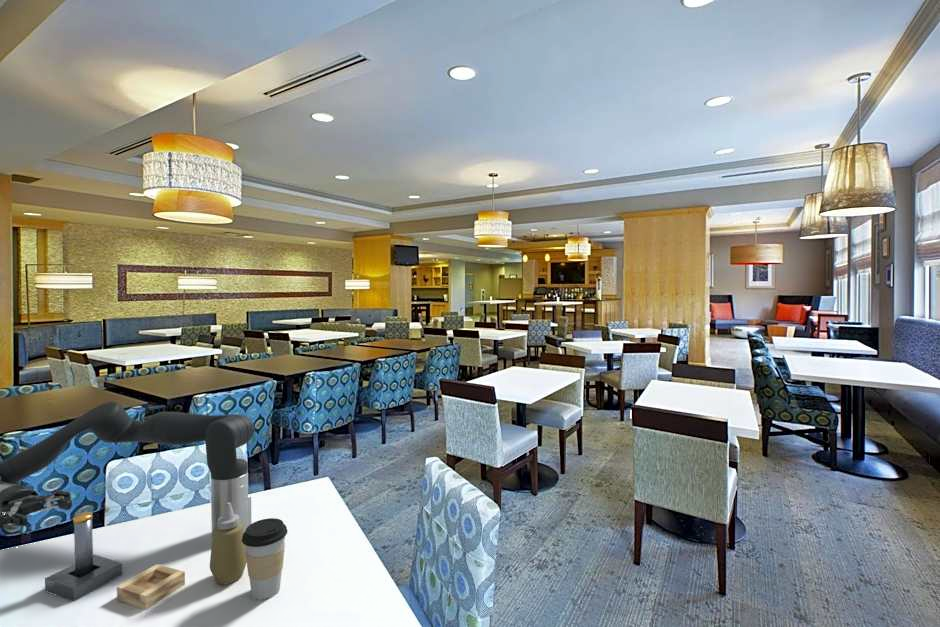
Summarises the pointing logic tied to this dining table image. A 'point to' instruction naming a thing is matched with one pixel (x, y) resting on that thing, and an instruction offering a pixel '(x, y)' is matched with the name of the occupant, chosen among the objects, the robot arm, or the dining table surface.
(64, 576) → the socket block
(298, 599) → the dining table surface
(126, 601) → the oak tray
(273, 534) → the coffee cup
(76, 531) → the steel rod
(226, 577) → the squeeze bottle
